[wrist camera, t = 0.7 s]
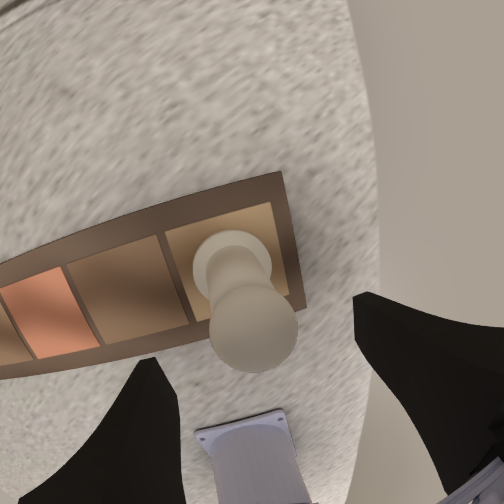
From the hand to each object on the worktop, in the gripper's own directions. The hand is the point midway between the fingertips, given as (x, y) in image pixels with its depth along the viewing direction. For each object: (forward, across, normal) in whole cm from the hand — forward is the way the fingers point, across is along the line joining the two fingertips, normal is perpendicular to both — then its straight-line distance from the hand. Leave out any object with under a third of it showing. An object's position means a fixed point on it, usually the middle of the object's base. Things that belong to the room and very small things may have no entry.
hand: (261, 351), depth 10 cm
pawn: (+8, 0, 0) cm, 8 cm away
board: (+8, +10, 0) cm, 13 cm away
